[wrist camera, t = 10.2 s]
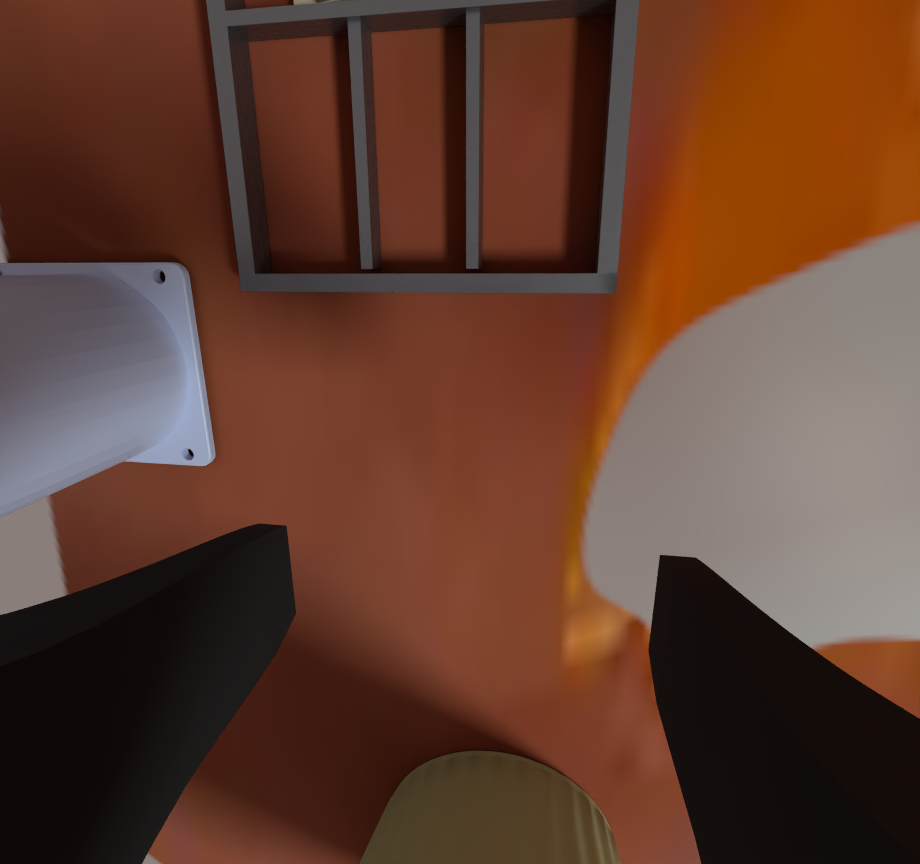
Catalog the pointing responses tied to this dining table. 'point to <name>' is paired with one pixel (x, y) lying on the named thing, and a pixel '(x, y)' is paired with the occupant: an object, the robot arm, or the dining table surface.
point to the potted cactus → (490, 816)
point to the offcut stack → (313, 1)
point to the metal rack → (375, 10)
